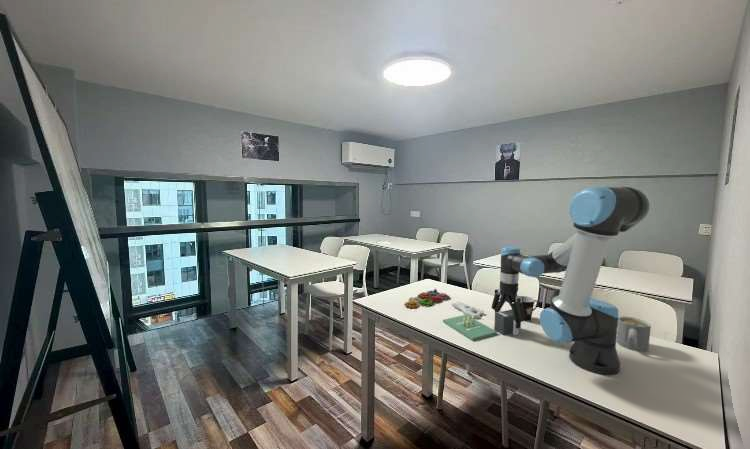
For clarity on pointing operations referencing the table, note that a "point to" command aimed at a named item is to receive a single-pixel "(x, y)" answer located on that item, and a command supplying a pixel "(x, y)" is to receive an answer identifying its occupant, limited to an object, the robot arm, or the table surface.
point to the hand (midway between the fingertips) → (506, 329)
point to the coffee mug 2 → (633, 333)
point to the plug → (504, 322)
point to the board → (469, 327)
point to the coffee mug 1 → (528, 306)
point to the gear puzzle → (427, 299)
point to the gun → (468, 310)
